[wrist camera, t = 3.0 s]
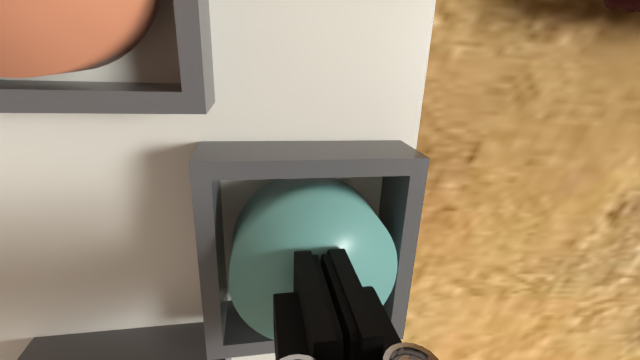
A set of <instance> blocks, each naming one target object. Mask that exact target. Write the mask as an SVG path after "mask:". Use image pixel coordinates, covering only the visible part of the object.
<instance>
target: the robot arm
mask: <svg viewBox="0 0 640 360" xmlns="http://www.w3.org/2000/svg"><path fill="white" fill-rule="evenodd" d="M273 326H274V345H275V360H438V358H437V357H436V356H435V355H434V354H433V353H432V352H431V351H429V350H427V349H426V348H424V347H422V346H419V345H417V344H413V343H406V342H405V343H402V342H401V340H400V338H399V336H398V334H397V332H396V330H395V328H394V326H393V324H392V322H391V320H390V318H389V316H388V314H387V312H386V311H385V309H384V307H383V305H382V303H381V301H380V299H379V297H378V295H377V293H376V291H375V289H374V288H373V287H372V286H364V287H362V285H361V283H360V280H359V278H358V276H357V274H356V272H355V270H354V268H353V265H352V263H351V261H350V259H349V257H348V255H347V253H346V250H345V249H344V248H343V249H328V250H327V254H322V256H321V264H320V261H319V257H318V255H317V254H316V255H312V252H311V251H294V282H293V292H289V293H276V294H273Z"/></svg>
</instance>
